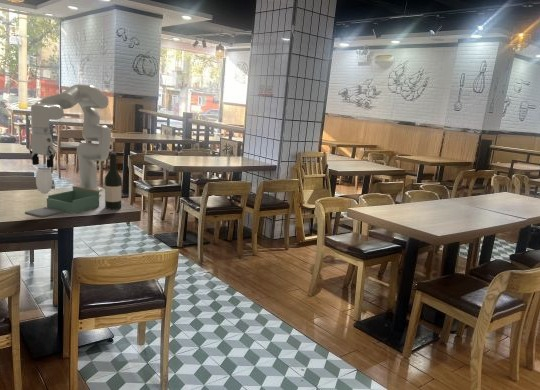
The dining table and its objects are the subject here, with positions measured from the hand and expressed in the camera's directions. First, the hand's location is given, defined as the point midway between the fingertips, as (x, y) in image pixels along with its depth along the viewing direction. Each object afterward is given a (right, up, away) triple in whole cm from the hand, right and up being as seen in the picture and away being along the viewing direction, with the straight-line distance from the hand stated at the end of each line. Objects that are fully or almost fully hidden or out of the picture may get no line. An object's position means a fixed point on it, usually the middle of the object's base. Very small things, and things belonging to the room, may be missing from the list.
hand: (42, 165), depth 214 cm
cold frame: (+7, -21, +19) cm, 29 cm away
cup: (-1, -23, +5) cm, 23 cm away
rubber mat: (-2, -23, +5) cm, 24 cm away
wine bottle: (+26, -21, +24) cm, 41 cm away
